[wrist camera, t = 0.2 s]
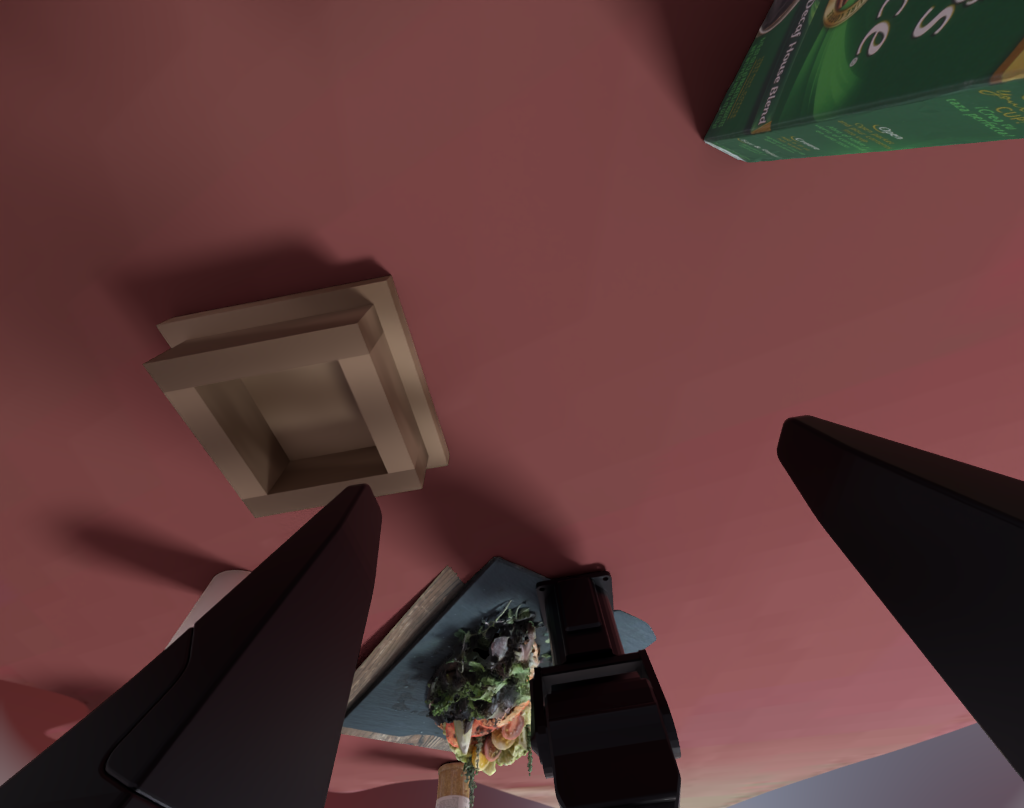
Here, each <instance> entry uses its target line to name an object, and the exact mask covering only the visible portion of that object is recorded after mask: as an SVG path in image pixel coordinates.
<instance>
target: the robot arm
mask: <svg viewBox="0 0 1024 808" xmlns="http://www.w3.org/2000/svg"><path fill="white" fill-rule="evenodd" d="M777 455H778V458H779V460H780V462H781V464H782V465H783V467H784V468H785V470H786V471H787V473H788V475H789V476H790V478H791V479H792V481H793V482H794V484H795V486H796V487H797V489H798V490H799V492H800V493H801V495H802V496H803V498H804V500H805V501H806V503H807V504H808V506H809V507H810V509H811V511H812V512H813V513H814V515H815V516H816V518H817V519H818V521H819V522H820V524H821V525H822V526H823V528H824V529H825V530H826V532H827V533H828V534H829V535H830V537H831V538H832V539H833V540H834V542H835V543H836V544H837V545H838V547H839V548H840V549H841V550H842V552H843V553H844V554H845V556H846V557H847V558H848V559H849V561H850V562H851V563H852V564H853V566H854V567H855V568H856V569H857V571H858V572H859V573H860V575H861V576H862V577H863V578H864V580H865V581H866V582H867V583H868V585H869V586H870V587H871V588H872V590H873V591H874V592H875V594H876V595H877V596H878V597H879V599H880V600H881V601H882V602H883V604H884V605H885V606H886V607H887V609H888V610H889V611H890V613H891V614H892V615H893V616H894V618H895V619H896V620H897V621H898V623H899V624H900V625H901V626H902V628H903V629H904V630H905V632H906V633H907V634H908V635H909V637H910V638H911V639H912V640H913V642H914V643H915V644H916V645H917V647H918V648H919V649H920V650H921V652H922V653H923V654H924V656H925V657H926V658H927V659H928V661H929V662H930V663H931V664H932V666H933V667H934V668H935V669H936V671H937V672H938V673H939V675H940V676H941V677H942V678H943V680H944V681H945V682H946V683H947V685H948V686H949V687H950V688H951V690H952V691H953V692H954V694H955V695H956V696H957V697H958V699H959V700H960V701H961V702H962V704H963V705H964V706H965V707H966V709H967V710H968V711H969V713H970V714H971V715H972V716H973V718H974V719H975V720H976V721H977V723H978V724H979V725H980V726H981V728H982V729H983V730H984V731H985V733H986V734H987V735H988V737H990V739H991V740H992V742H993V743H994V744H995V745H996V747H997V748H998V749H999V750H1000V752H1001V753H1002V754H1003V755H1004V757H1005V758H1006V759H1007V761H1008V762H1009V763H1010V764H1011V766H1012V767H1013V768H1014V769H1015V771H1016V772H1017V773H1018V775H1019V776H1020V777H1021V778H1022V780H1023V781H1024V481H1021V480H1018V479H1015V478H1012V477H1008V476H1005V475H1002V474H999V473H995V472H992V471H989V470H986V469H982V468H979V467H976V466H973V465H969V464H966V463H963V462H960V461H956V460H953V459H950V458H947V457H943V456H940V455H937V454H934V453H930V452H927V451H924V450H921V449H917V448H914V447H911V446H908V445H904V444H901V443H898V442H895V441H891V440H888V439H885V438H882V437H878V436H875V435H872V434H869V433H865V432H862V431H859V430H856V429H852V428H849V427H846V426H843V425H839V424H836V423H833V422H830V421H826V420H823V419H820V418H817V417H813V416H809V415H804V416H797V417H791V418H788V419H786V420H785V422H784V423H783V427H782V430H781V434H780V438H779V442H778V446H777ZM381 523H382V514H381V510H380V507H379V505H378V503H377V500H376V498H375V496H374V494H373V491H372V489H371V487H370V486H369V485H368V484H366V483H362V484H356V485H350V486H348V487H346V488H345V489H344V490H343V491H342V492H340V493H339V494H338V495H337V496H336V497H335V498H334V499H333V500H332V501H330V502H329V503H328V504H327V505H326V506H325V507H324V508H323V509H321V510H320V511H319V512H318V513H317V514H316V515H315V516H314V517H313V518H311V519H310V520H309V521H308V522H307V523H306V524H305V525H304V526H303V527H301V528H300V529H299V530H298V531H297V532H296V533H295V534H294V535H292V536H291V537H290V538H289V539H288V540H287V541H286V542H285V543H284V544H282V545H281V546H280V547H279V548H278V549H277V550H276V551H275V552H273V553H272V554H271V555H270V556H269V557H268V558H267V559H266V560H265V561H263V562H262V563H261V564H260V565H259V566H258V567H257V568H256V569H254V570H253V571H252V572H251V573H250V574H249V575H248V576H247V577H246V578H244V579H243V580H242V581H241V582H240V583H239V584H238V585H237V586H236V587H234V588H233V589H232V590H231V591H230V592H229V593H228V594H227V595H225V596H224V597H223V598H222V599H221V600H220V601H219V602H218V603H217V604H215V605H214V606H213V607H212V608H211V609H210V610H209V611H208V612H206V613H205V614H204V615H203V616H202V617H201V618H200V619H199V620H198V621H196V622H195V624H194V627H190V628H188V629H187V630H186V631H185V632H184V633H183V634H182V635H181V636H180V637H178V638H177V639H176V640H175V641H174V642H173V643H172V644H171V645H170V646H168V647H167V648H166V649H165V650H164V651H163V652H162V653H160V654H159V655H158V656H157V657H156V658H155V659H154V660H152V661H151V662H150V663H149V664H148V665H147V666H146V667H144V668H143V669H142V670H141V671H140V672H139V673H137V674H136V675H135V676H134V677H133V678H132V679H131V680H129V681H128V682H127V683H126V684H125V685H123V686H122V687H121V688H120V689H119V690H117V691H116V692H115V693H114V694H113V695H111V696H110V697H109V698H108V699H107V700H105V701H104V702H103V703H102V704H101V705H99V706H98V707H97V708H96V709H95V710H93V711H92V712H91V713H90V714H88V715H87V716H86V717H85V718H84V719H82V720H81V721H80V722H79V723H77V724H76V725H75V726H74V727H73V728H71V729H70V730H69V731H68V732H66V733H65V734H64V735H63V736H61V737H60V738H59V739H58V740H57V741H55V742H54V743H53V744H52V745H51V746H49V747H48V748H47V749H46V750H44V751H43V752H42V753H41V754H39V755H38V756H37V757H36V758H35V759H34V760H32V761H31V762H30V763H28V764H27V765H26V766H25V767H23V768H22V769H21V770H20V771H19V772H17V773H16V774H15V775H14V776H12V777H11V778H10V779H9V780H7V781H6V782H5V783H4V784H3V785H1V786H0V808H324V805H325V801H326V796H327V792H328V788H329V783H330V779H331V775H332V770H333V766H334V761H335V757H336V753H337V748H338V744H339V740H340V735H341V731H342V726H343V722H344V718H345V713H346V709H347V704H348V700H349V696H350V691H351V687H352V682H353V678H354V674H355V669H356V665H357V660H358V656H359V652H360V647H361V643H362V639H363V634H364V630H365V625H366V621H367V617H368V612H369V608H370V603H371V599H372V594H373V589H374V583H375V576H376V567H377V558H378V550H379V541H380V532H381ZM536 591H537V595H538V600H539V604H540V608H541V613H542V617H543V621H544V626H545V627H546V628H548V633H549V640H550V647H551V654H552V661H553V666H549V667H543V668H541V666H540V667H534V677H533V678H532V679H531V680H529V686H530V698H531V735H530V740H531V748H532V750H533V751H534V752H535V753H536V754H537V755H538V756H539V758H540V762H541V764H543V769H544V774H545V777H546V779H547V778H553V777H554V785H555V793H556V797H557V800H558V803H559V805H560V808H680V788H681V777H680V773H679V770H678V766H677V763H676V760H675V759H677V758H680V757H681V752H680V746H679V741H678V737H677V733H676V729H675V726H674V722H673V719H672V716H671V713H670V710H669V707H668V704H667V701H666V699H665V696H664V694H663V692H662V689H661V687H660V684H659V682H658V679H657V677H656V674H655V672H654V670H653V667H652V665H651V662H650V660H649V657H648V655H647V653H646V650H645V649H642V650H638V652H633V653H627V654H625V653H624V649H623V646H622V642H621V639H620V636H619V632H618V629H617V625H616V622H615V619H614V610H613V595H612V579H611V575H610V573H609V572H608V571H602V572H596V573H590V574H584V575H578V576H572V577H566V578H560V579H554V580H548V581H542V582H538V583H537V584H536Z"/></svg>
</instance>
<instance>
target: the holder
mask: <svg viewBox="0 0 1024 808" xmlns="http://www.w3.org/2000/svg"><path fill="white" fill-rule="evenodd" d="M156 327H157V328H158V329H159V331H160V332H161V334H162V335H163V337H164V338H165V340H166V341H167V343H168V344H169V346H170V347H171V349H169V350H168V351H166V352H164V353H162V354H160V355H158V356H157V357H155V358H153V359H151V360H149V361H148V362H146V363H144V364H143V366H144V367H145V368H146V370H147V371H148V373H149V374H150V375H151V377H152V378H153V379H154V381H155V382H156V383H157V385H158V386H159V388H160V389H161V390H162V392H163V393H164V394H165V396H166V397H167V398H168V400H169V401H170V403H171V404H172V405H173V407H174V408H175V409H176V411H177V412H178V413H179V415H180V416H181V418H182V419H183V420H184V422H185V423H186V424H187V426H188V427H189V428H190V430H191V431H192V433H193V434H194V435H195V437H196V438H197V439H198V441H199V442H200V443H201V445H202V446H203V448H204V449H205V450H206V452H207V453H208V454H209V456H210V457H211V458H212V460H213V461H214V463H215V464H216V465H217V467H218V468H219V469H220V471H221V472H222V473H223V475H224V476H225V478H226V479H227V480H228V482H229V483H230V484H231V486H232V487H233V488H234V490H235V491H236V493H237V494H238V495H239V497H240V498H241V499H242V501H243V502H244V503H245V505H246V506H247V508H248V509H249V510H250V512H251V513H252V514H253V516H254V517H255V518H258V517H263V516H269V515H275V514H280V513H286V512H292V511H298V510H303V509H309V508H315V507H320V506H326V505H327V504H328V503H329V502H330V501H332V500H333V499H334V498H335V497H336V496H337V495H338V494H339V493H340V492H342V491H343V490H344V489H345V488H346V487H348V486H350V485H356V484H362V483H366V484H368V485H369V486H370V487H371V489H372V491H373V494H374V496H375V497H378V496H383V495H389V494H395V493H400V492H406V491H412V490H418V489H422V488H423V483H424V478H425V473H426V469H430V468H436V467H442V466H447V465H448V462H449V451H448V448H447V445H446V442H445V439H444V436H443V433H442V429H441V426H440V423H439V420H438V417H437V414H436V411H435V408H434V405H433V402H432V399H431V396H430V393H429V390H428V386H427V383H426V380H425V377H424V374H423V371H422V368H421V365H420V362H419V359H418V356H417V353H416V350H415V346H414V343H413V340H412V337H411V334H410V331H409V328H408V325H407V322H406V319H405V316H404V313H403V310H402V306H401V303H400V300H399V297H398V294H397V291H396V288H395V285H394V282H393V279H392V276H391V275H390V276H385V277H379V278H374V279H369V280H364V281H359V282H354V283H349V284H344V285H338V286H333V287H328V288H323V289H318V290H313V291H308V292H303V293H297V294H292V295H287V296H282V297H277V298H272V299H267V300H261V301H256V302H251V303H246V304H241V305H236V306H231V307H226V308H220V309H215V310H210V311H205V312H200V313H195V314H190V315H185V316H179V317H174V318H171V319H169V320H166V321H164V322H162V323H160V324H158V325H156Z"/></svg>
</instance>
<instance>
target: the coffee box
mask: <svg viewBox="0 0 1024 808" xmlns="http://www.w3.org/2000/svg"><path fill="white" fill-rule="evenodd" d="M1021 138H1024V0H774V2H773V4H772V6H771V8H770V10H769V12H768V13H767V16H766V18H765V20H764V22H763V23H762V25H761V28H760V29H759V31H758V33H757V36H756V38H755V40H754V42H753V44H752V45H751V47H750V49H749V51H748V53H747V55H746V57H745V59H744V61H743V63H742V65H741V67H740V69H739V71H738V73H737V75H736V77H735V79H734V81H733V83H732V84H731V86H730V88H729V89H728V91H727V93H726V95H725V97H724V100H723V101H722V103H721V105H720V108H719V111H718V113H717V114H716V116H715V119H714V121H713V122H712V124H711V126H710V128H709V130H708V132H707V134H706V136H705V138H704V141H705V142H706V143H707V144H709V145H711V146H713V147H715V148H717V149H719V150H721V151H723V152H725V153H726V154H729V155H730V156H732V157H734V158H736V159H738V160H743V161H745V162H759V161H772V160H779V159H791V158H806V157H818V156H831V155H842V154H855V153H866V152H879V151H891V150H901V149H911V148H920V147H931V146H945V145H954V144H966V143H977V142H988V141H997V140H1007V139H1021Z"/></svg>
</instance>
